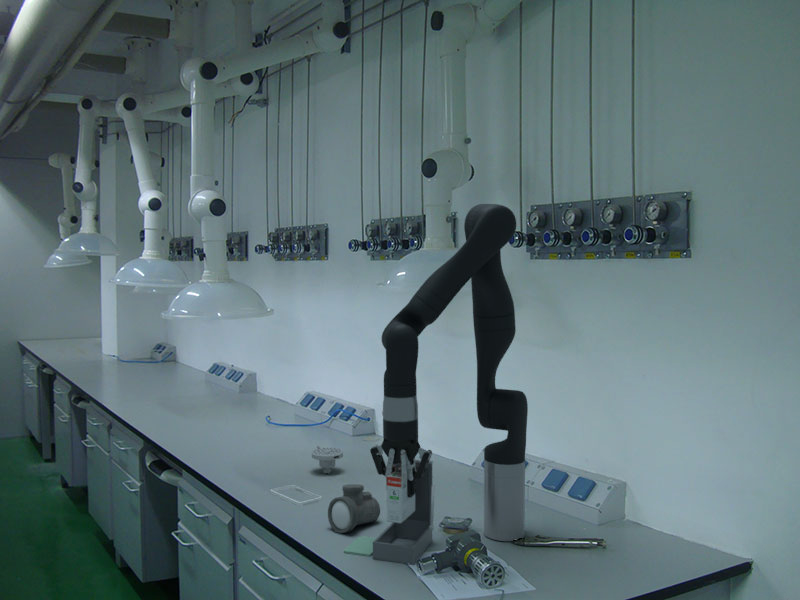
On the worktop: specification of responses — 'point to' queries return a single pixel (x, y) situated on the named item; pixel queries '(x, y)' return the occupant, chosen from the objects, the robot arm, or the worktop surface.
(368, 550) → the mat
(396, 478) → the ink box
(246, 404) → the worktop surface
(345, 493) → the pipe fitting
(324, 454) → the showerhead
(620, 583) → the worktop surface
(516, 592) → the worktop surface
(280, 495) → the phone case
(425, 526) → the case
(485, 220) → the robot arm
